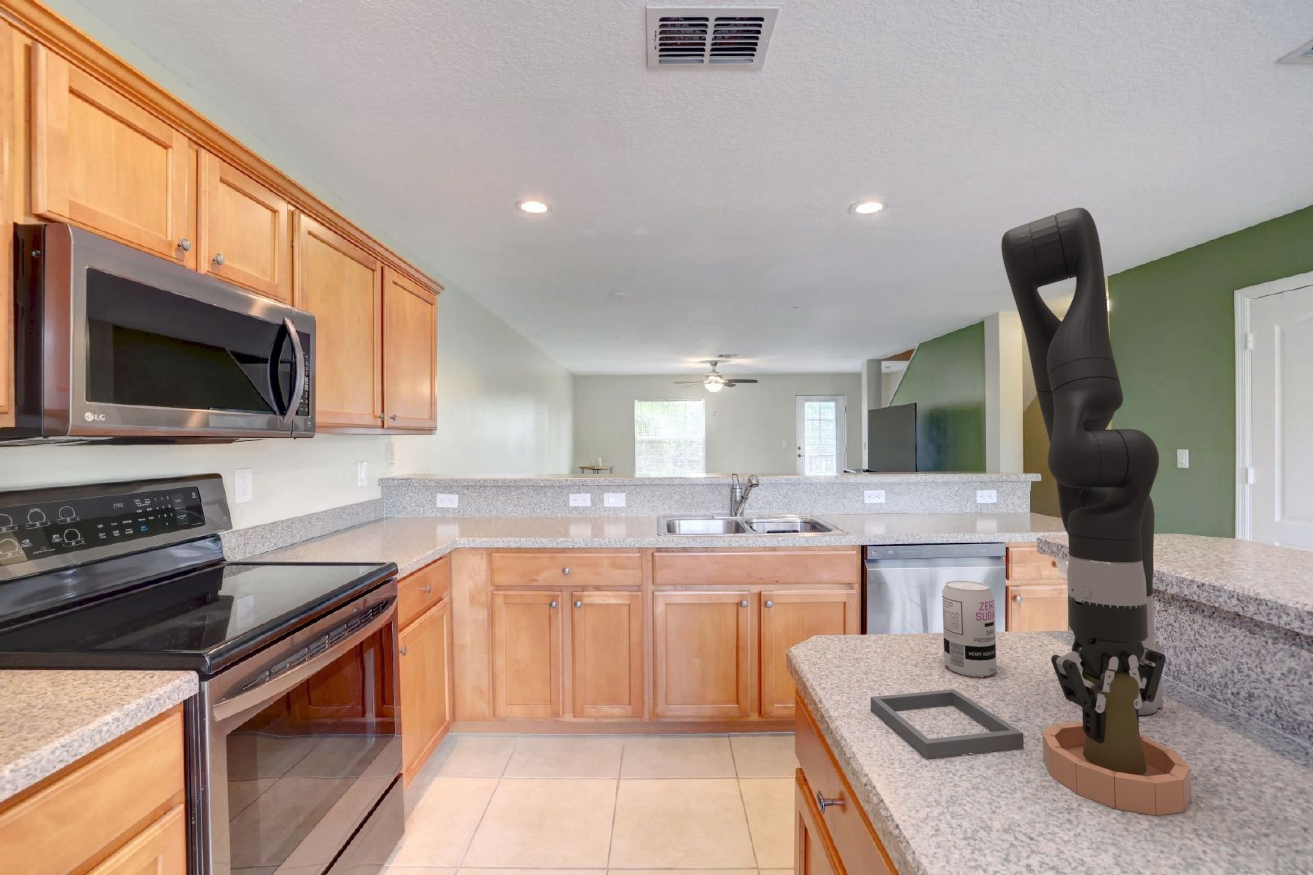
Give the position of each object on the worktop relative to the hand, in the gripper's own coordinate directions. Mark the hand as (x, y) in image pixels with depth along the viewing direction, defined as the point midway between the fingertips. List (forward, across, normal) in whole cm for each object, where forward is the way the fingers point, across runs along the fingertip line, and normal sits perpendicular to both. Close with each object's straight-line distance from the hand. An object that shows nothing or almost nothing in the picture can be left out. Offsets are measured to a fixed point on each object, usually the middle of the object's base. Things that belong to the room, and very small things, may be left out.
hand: (1111, 737), depth 69 cm
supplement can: (+5, -6, -33) cm, 34 cm away
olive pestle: (+3, 0, 0) cm, 3 cm away
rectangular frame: (+5, +12, -15) cm, 20 cm away
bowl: (+5, 0, 0) cm, 5 cm away
